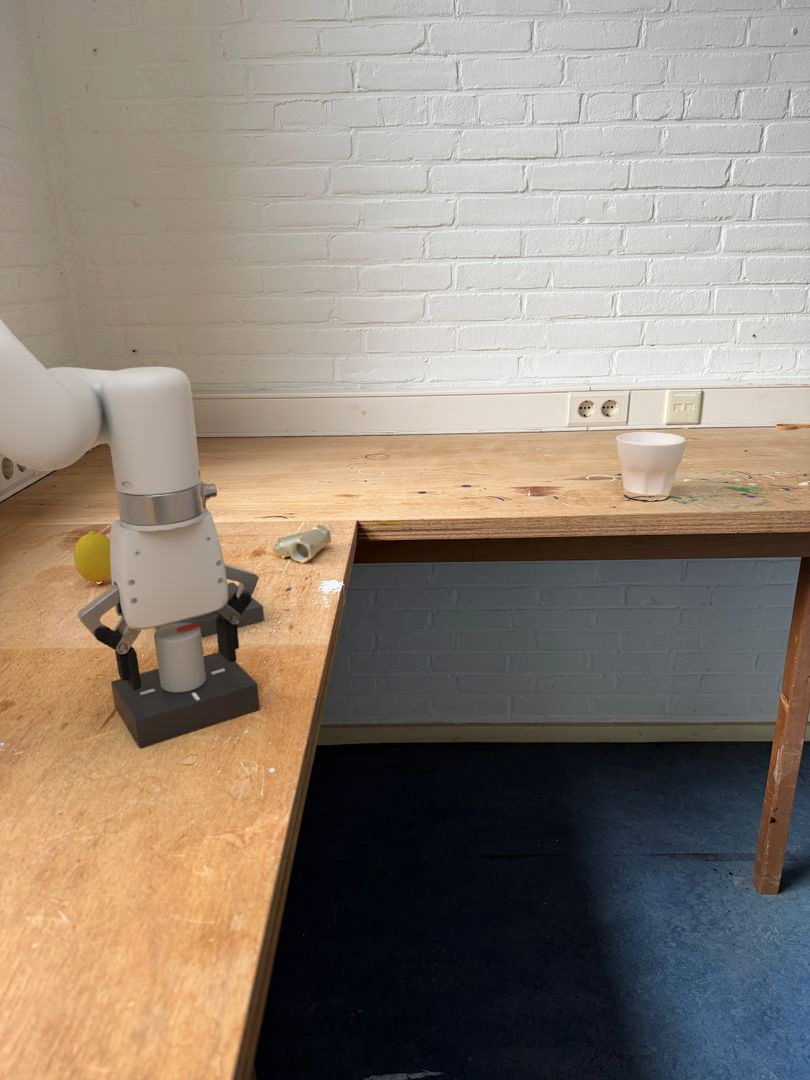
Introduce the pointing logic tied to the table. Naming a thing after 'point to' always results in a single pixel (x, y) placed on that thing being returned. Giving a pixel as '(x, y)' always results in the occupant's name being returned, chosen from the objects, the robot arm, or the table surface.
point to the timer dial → (180, 657)
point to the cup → (649, 461)
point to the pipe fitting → (303, 544)
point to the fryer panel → (185, 702)
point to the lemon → (93, 557)
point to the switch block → (208, 620)
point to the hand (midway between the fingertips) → (181, 670)
